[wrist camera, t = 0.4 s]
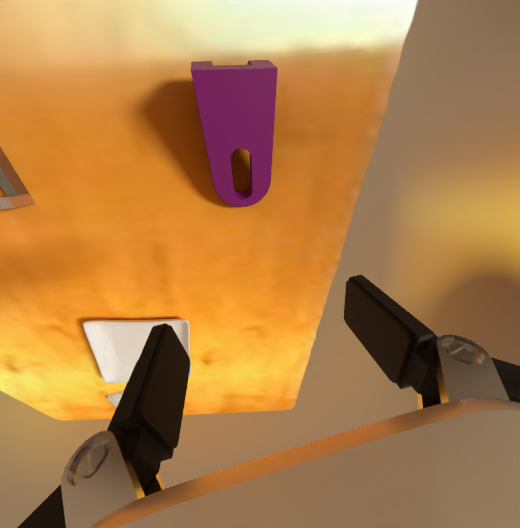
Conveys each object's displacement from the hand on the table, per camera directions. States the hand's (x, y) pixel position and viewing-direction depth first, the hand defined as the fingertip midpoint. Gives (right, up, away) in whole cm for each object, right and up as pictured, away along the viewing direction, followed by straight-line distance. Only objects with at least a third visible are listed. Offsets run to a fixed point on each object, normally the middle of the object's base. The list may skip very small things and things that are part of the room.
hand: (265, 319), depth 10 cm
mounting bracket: (-4, +23, +22) cm, 32 cm away
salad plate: (-29, -17, +39) cm, 51 cm away
